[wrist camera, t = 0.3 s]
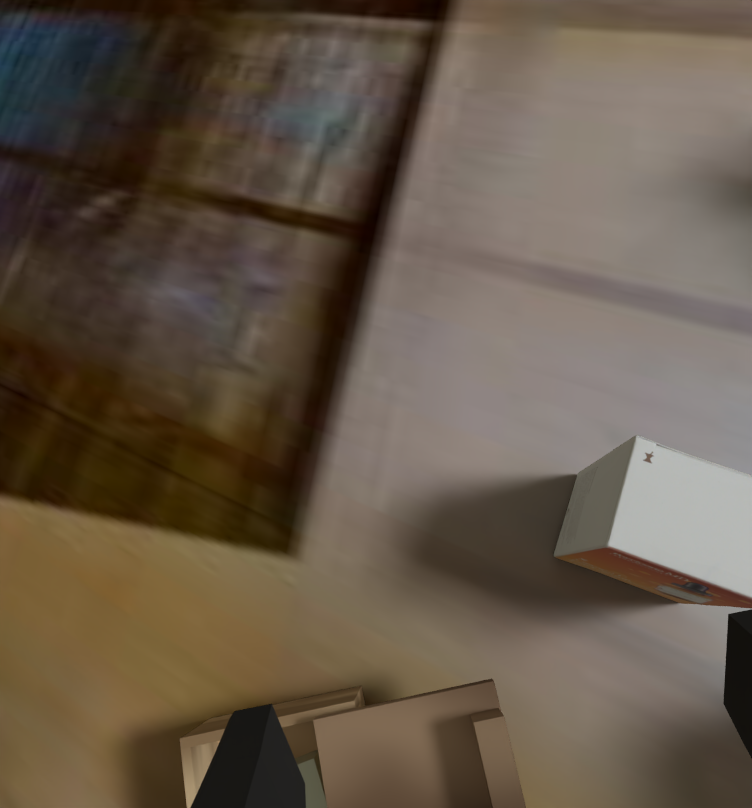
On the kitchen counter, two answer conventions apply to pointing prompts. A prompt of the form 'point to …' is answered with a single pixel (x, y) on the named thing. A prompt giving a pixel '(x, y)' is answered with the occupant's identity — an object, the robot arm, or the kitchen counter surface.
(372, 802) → the lid
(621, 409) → the kitchen counter surface
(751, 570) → the small box
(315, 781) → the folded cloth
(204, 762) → the carton
